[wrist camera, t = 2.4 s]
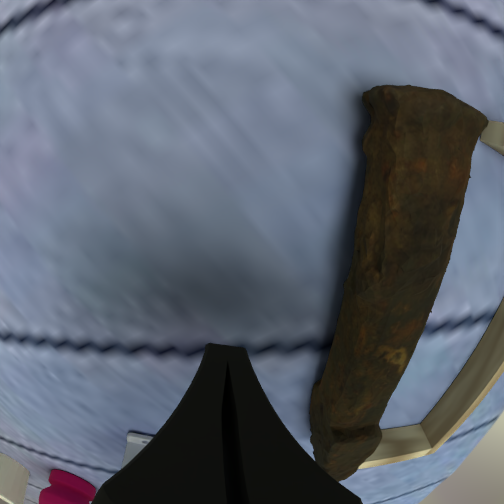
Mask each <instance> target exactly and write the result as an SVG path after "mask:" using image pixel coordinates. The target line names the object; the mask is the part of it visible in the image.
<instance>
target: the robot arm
mask: <svg viewBox="0 0 504 504" xmlns="http://www.w3.org/2000/svg"><path fill="white" fill-rule="evenodd" d="M91 504H363V503H362V501H361V498H359V497H358V496H356V495H355V494H354V493H352V492H351V491H349V490H348V489H347V488H345V487H344V486H343V485H341V484H340V483H339V482H337V481H336V480H335V479H334V478H333V477H331V476H330V475H329V474H328V473H327V472H326V471H325V470H323V469H322V468H321V467H320V466H319V465H318V464H317V463H316V462H315V461H314V460H313V459H312V458H311V457H310V456H309V455H308V453H307V452H306V451H305V450H304V449H303V448H302V447H301V446H300V445H299V443H298V442H297V441H296V440H295V439H294V437H293V436H292V435H291V433H290V432H289V431H288V430H287V428H286V427H285V425H284V424H283V423H282V421H281V420H280V418H279V417H278V415H277V413H276V412H275V410H274V409H273V407H272V405H271V404H270V402H269V400H268V398H267V396H266V395H265V393H264V391H263V389H262V387H261V385H260V383H259V381H258V379H257V377H256V374H255V372H254V370H253V367H252V365H251V362H250V360H249V357H248V354H247V351H246V349H245V348H243V347H235V346H227V345H220V344H213V343H208V344H207V345H206V346H205V352H204V355H203V358H202V361H201V364H200V366H199V368H198V371H197V373H196V375H195V377H194V379H193V381H192V383H191V385H190V386H189V388H188V390H187V391H186V393H185V395H184V396H183V398H182V400H181V401H180V403H179V404H178V406H177V407H176V409H175V410H174V412H173V413H172V415H171V416H170V417H169V419H168V420H167V421H166V423H165V424H164V425H163V426H162V428H161V429H160V430H159V431H158V432H157V434H156V435H155V436H154V437H150V436H146V435H141V434H136V433H128V434H127V446H126V450H125V454H124V459H123V463H122V468H121V470H120V471H118V472H117V473H116V474H115V475H113V476H112V477H111V478H110V479H108V480H107V481H106V482H105V483H103V484H102V486H101V487H100V489H99V491H98V492H97V494H96V495H95V497H94V499H93V501H92V503H91Z"/></svg>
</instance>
